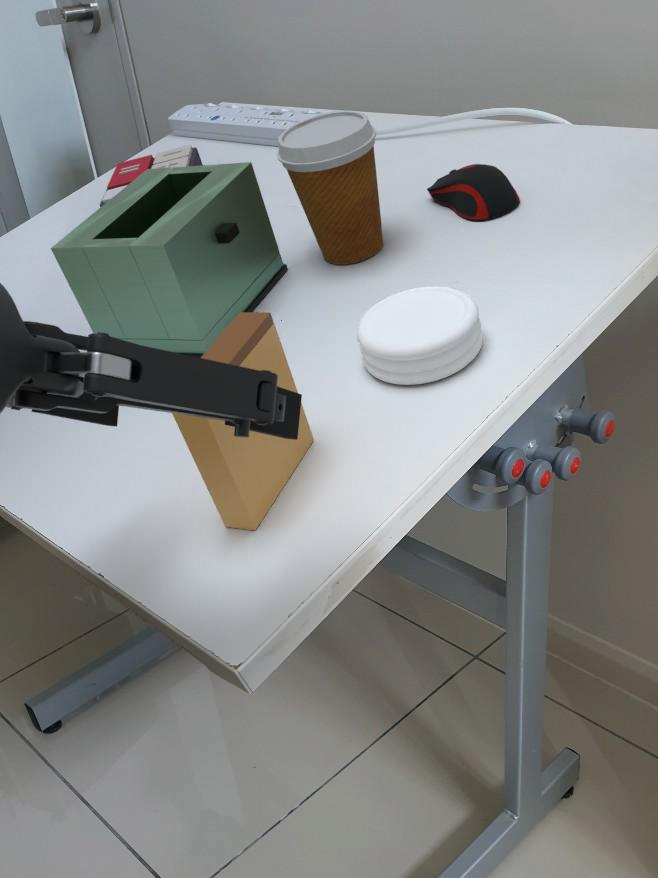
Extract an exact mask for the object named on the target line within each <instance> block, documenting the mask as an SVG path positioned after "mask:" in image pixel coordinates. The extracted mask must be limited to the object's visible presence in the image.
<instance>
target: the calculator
mask: <svg viewBox="0 0 658 878" xmlns="http://www.w3.org/2000/svg"><path fill="white" fill-rule="evenodd" d="M202 165H204V164H203V162H202V159H201V155H200V153H199V150H198V147H196V146H195V147H194V146H192V144H187V145H184V146H180V147H179V146H178V147H175V148H172V149H168V150H164V151H160V152H157V153H156V154H155V156H153V154H148V155H144V156H141V157H137V158H133V159H129V160H125V161H122V162H119V163H117V164H116V167H115V169H114V170H113V173H112V175H111V177H110V179H109V182H108V183H107V186H106V189H105V191H104V194H103V196H102V199H101V201H100V203H99V208H100V207H102V206H103V205H104V204H105V203H107V202H108V201H109V200H110V199H111V198H113V197H114V196H115V195H116V194H118V193H119V192H120V191H121V190H122V189H124V188H125V187H126V186H127V185H129V184H130V183H131V182H132V181H133V180H135V179H136V178H137V177H138V176H140V175H141V174H142V173H143V172H144V171H146V170H147V169H156V168H171V167H187V166H202Z"/></svg>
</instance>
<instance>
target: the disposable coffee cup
mask: <svg viewBox="0 0 658 878" xmlns="http://www.w3.org/2000/svg"><path fill="white" fill-rule="evenodd" d="M376 136H377V130H376V128H375V127H374V126H373V125H372V124H371V122H370V120H369V117H368V115H366V114H365V113H364V112H362V111H357V110H338V111H337V110H336V111H330V112H325V113H322V114H316V115H313V116H310V117H308V118H305V119H302V120H300V121H298V122H295V123H294V124H292V125H290V126H289V127H287V128H286V129H284V131H282V132H281V133H280V135H279V136H278V138H277V144H278V151H277V153H276V156H277V160H278V161H279V162H280V163H281V164H282V167H283V168H285V169H286V171H287V174H288V176H289V178H290V181H291V183H292V186H293V188H294V190H295V193H296V195H297V197H298V200H299V203H300V204H301V207H302V209H303V211H304V214H305V217H306V219H307V221H308V223H309V226H310V228H311V231H312V233H313V235H314V238H315V240H316V243H317V244H318V247H319V250H320V252H321V254H322V256H323V260H324V261H325V262H326V263H328V264H331V265H332V264H333V265H339V266H340V265H341V266H342V265H352V264H356V263H358V262H362V261H366V260H367V259H370V258H371V257H374V256H375V255H376V254H377V253H379V252H380V251H381V250H382V248H383V247H384V237H383V235H384V234H383V228H382V227H383V226H382V225H383V224H382V216H381V207H380V206H381V205H380V196H379V195H380V194H379V188H378V187H379V184H378V177H377V176H378V175H377V166H376V165H377V164H376V157H375V156H376V155H375V144H376V140H375V139H376Z"/></svg>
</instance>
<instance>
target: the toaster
mask: <svg viewBox="0 0 658 878" xmlns="http://www.w3.org/2000/svg"><path fill="white" fill-rule="evenodd" d="M50 250H51V252H52V254H53V256H54V258H55V260H56V262H57V264H58V266H59V268H60V270H61V272H62V274H63V277H64V278H65V280H66V281H67V284H68V286H69V288H70V290H71V292H72V294H73V295H74V298H75V300H76V301H77V303H78V305H79V307H80V310H81V311H82V313H83V315H84V317H85V320H86V321H87V324H88V325H89V327H90V329H91V332H92V333H95V334H97V332H101V333H107V334H109V336H111V337H114V338H117V339H121V340H124V341H128V342H131V343H135V344H138V345H142V346H146V347H151V348H156V349H161V350H165V351H170V352H175V353H179V354H184V355H189V356H193V357H198V358H201V357H202V356H203V354H204V353H205V352H206V351H207V350H208V349H209V348H210V346H211V345H212V344H213V343H214V342H215V341H216V339H217V338H218V337H219V336H220V335H221V334H222V332H223V331H224V330H225V329H226V328H227V327H228V325H229V324H230V323H231V322H232V321H233V320H234V318H235V317H236V316H237V315H238V314H239V313H240V312H253V311H255V309H256V308H257V307H258V306H259V304H260V303H262V301H263V300H264V299H265V298H266V296H267V295H268V294H269V293H270V291H271V290H272V289H273V288H274V287H275V285H276V284H278V282H279V281H280V279H281V278H282V277H283V276H284V274H286V272H287V271H288V270H289V267H288V265H287V263H284V262H283V258H282V255H281V253H280V249H279V245H278V242H277V239H276V236H275V233H274V229H273V226H272V223H271V221H270V216H269V214H268V211H267V207H266V204H265V201H264V198H263V195H262V191H261V188H260V185H259V181H258V179H257V176H256V173H255V170H254V167H253V163H252V162H251V161H247V162H234V163H221V164H220V163H218V164H203V165H202V166H187V167H171V168H156V169H147V170H146V171H144V172H143V173H142V174H141V175H140V176H138V177H137V178H136V179H135V180H133V181H132V182H131V183H130V184H129V185H127V186H126V187H125V188H124V189H122V190H121V191H120V192H119V193H118V194H116V195H115V196H114V197H113V198H111V199H110V200H109V201H108V202H107V203H105V204H104V205H103V206H102V207H100V206H99V208H98V209H97V210H95V211H94V212H93V213H91V214H90V215H89V216H88V217H86V219H84V220H83V221H82V222H80V223H79V224H78V225H77V226H75V228H73V229H72V230H70V232H69V233H67V234H66V235H65V236H63V237H62V238H61V239H60V240H58V242H56V243H55V244H54V245H52V246H51V247H50Z"/></svg>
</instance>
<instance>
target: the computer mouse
mask: <svg viewBox="0 0 658 878" xmlns="http://www.w3.org/2000/svg"><path fill="white" fill-rule="evenodd" d="M426 190H427V192H428V194H429V195H430V197H431V198H432V199H433V201H435V202H436V203H438V204H440V205H442V206H444V207H447V208H449V209H452V211H454V212H455V213H456V215H458V216H459V217H461V218H463V219H466V220H467V221H468V220H469V221H472V222H481V221H482V222H483V221H489V220H493V219H496V218H498V217H501V216H504V215H506V214H508V213H510V212H511V211H513V210H514V209H516V207H518V206H519V203H520V202H521V199H520V196H519V195H518V194H519V193H518V192H517V191H516V189H515V188H514V186H513V184H512V183H511V181H510V180H509V179H508V177H507V175H506V174H505V173H504V172H503V171H502V170H501V169H499V168H498V167H497V166H494V165H490V164H483V163H482V164H481V163H475V164H469V165H466V166H463V167H461V168H458V169H452V170H450V171H449V172H448V174H446V175H444V176H442V177H439V178H438V179H436V181H435V182H433V184H432V185H431V186H429V187H428V188H426Z"/></svg>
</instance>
